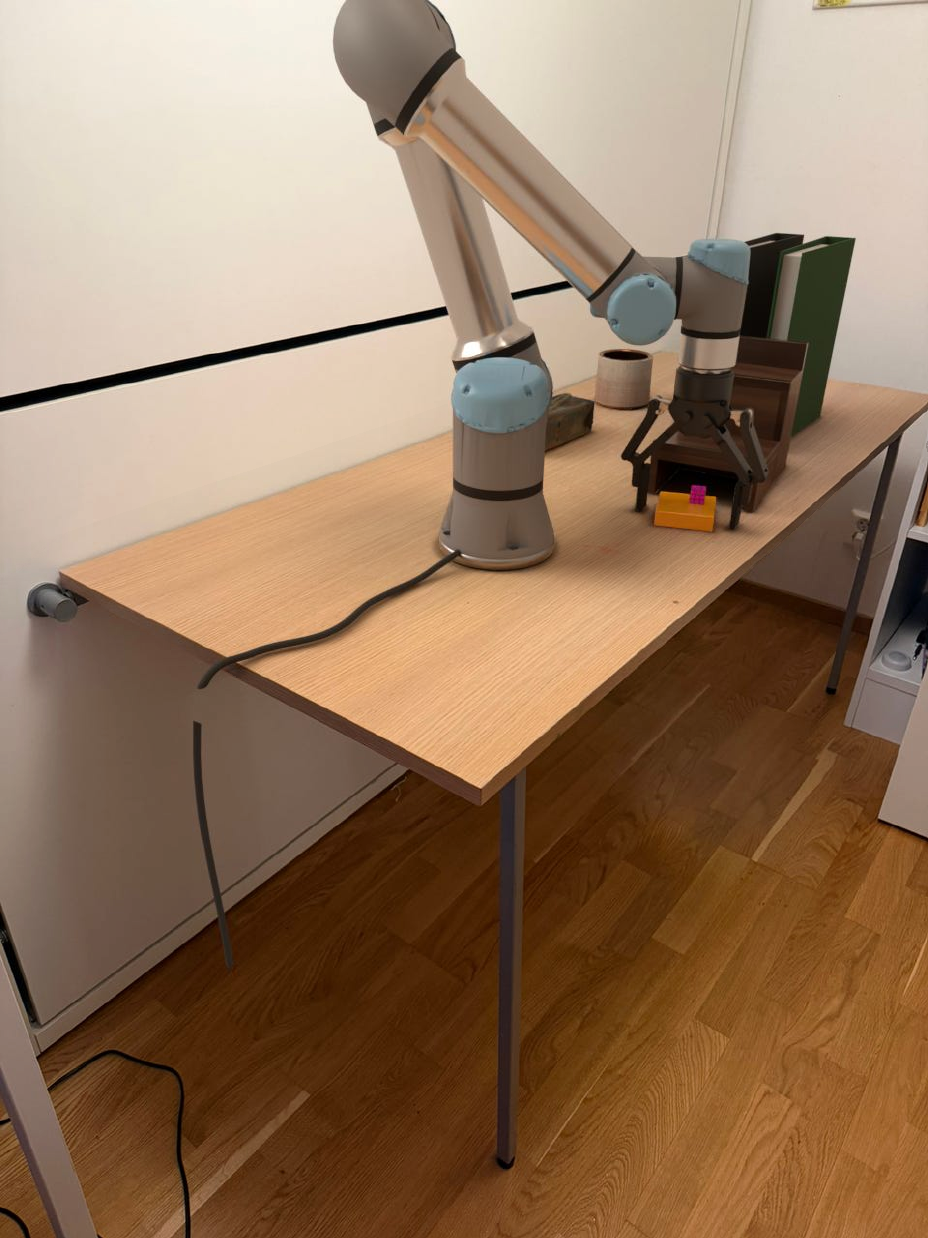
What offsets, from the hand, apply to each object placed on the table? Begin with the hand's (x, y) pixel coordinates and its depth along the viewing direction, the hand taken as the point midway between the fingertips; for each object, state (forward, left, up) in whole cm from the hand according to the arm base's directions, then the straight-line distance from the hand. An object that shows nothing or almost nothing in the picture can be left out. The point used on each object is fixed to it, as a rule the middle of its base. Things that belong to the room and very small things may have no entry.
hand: (686, 517), depth 128 cm
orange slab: (0, 0, 0) cm, 0 cm away
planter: (+53, +29, 0) cm, 60 cm away
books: (+50, +1, 0) cm, 50 cm away
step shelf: (+18, 0, 0) cm, 18 cm away
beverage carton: (+23, +32, 0) cm, 40 cm away
